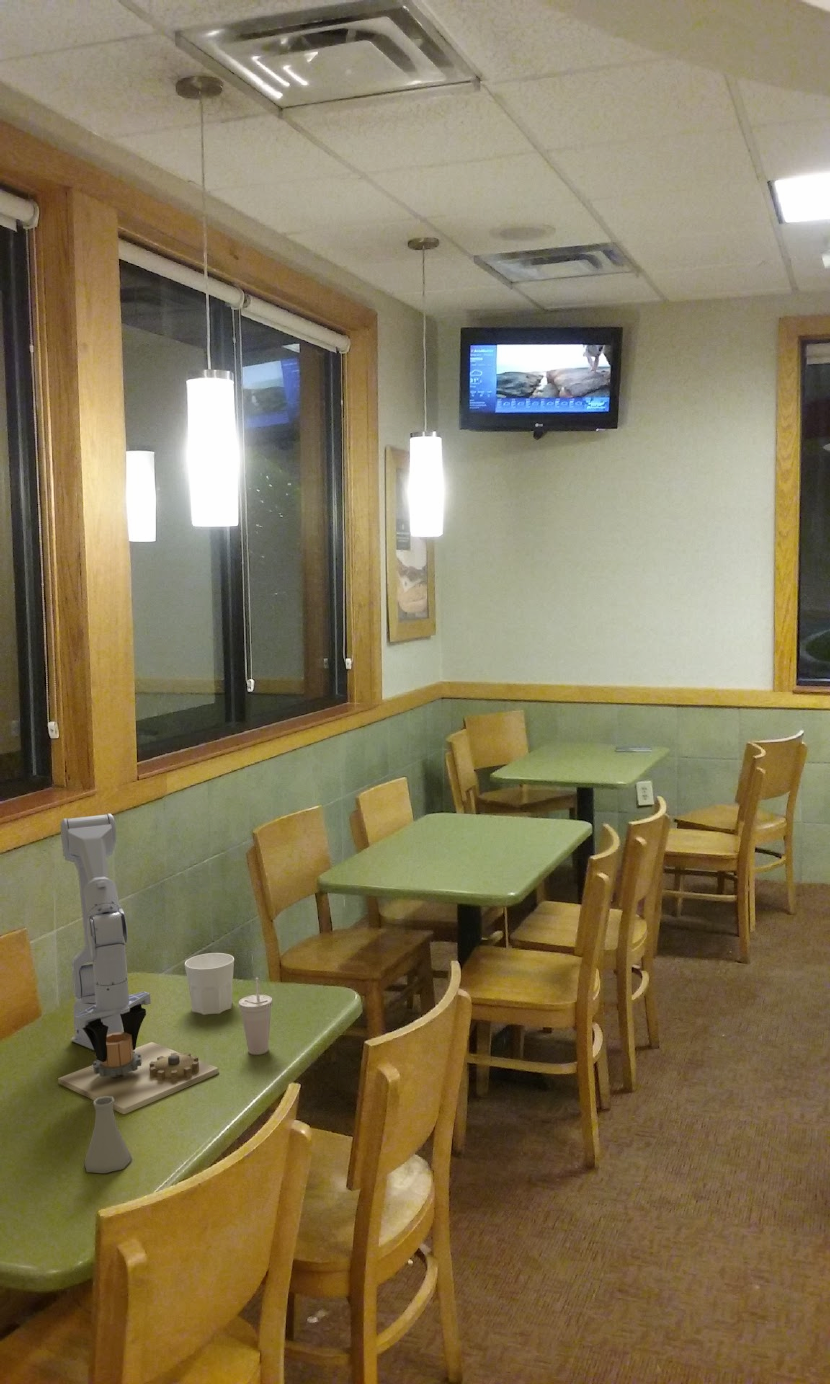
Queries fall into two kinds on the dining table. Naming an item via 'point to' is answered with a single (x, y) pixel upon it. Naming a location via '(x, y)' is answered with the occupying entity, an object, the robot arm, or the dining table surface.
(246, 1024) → the smoothie
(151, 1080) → the carrier
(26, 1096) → the dining table surface
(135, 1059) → the planet gear
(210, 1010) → the cup
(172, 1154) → the dining table surface
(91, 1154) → the flask
